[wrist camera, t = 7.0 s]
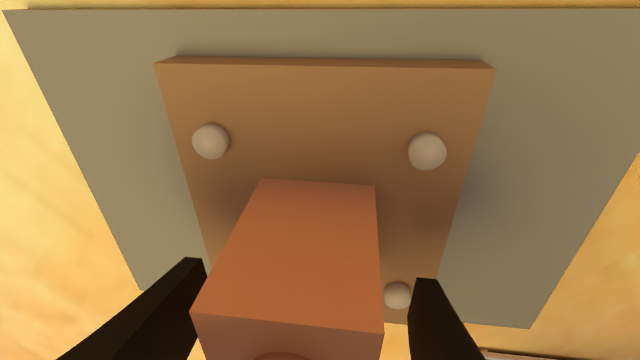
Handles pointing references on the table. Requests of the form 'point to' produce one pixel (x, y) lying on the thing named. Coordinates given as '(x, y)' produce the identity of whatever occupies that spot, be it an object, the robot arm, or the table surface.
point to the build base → (508, 169)
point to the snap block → (296, 277)
